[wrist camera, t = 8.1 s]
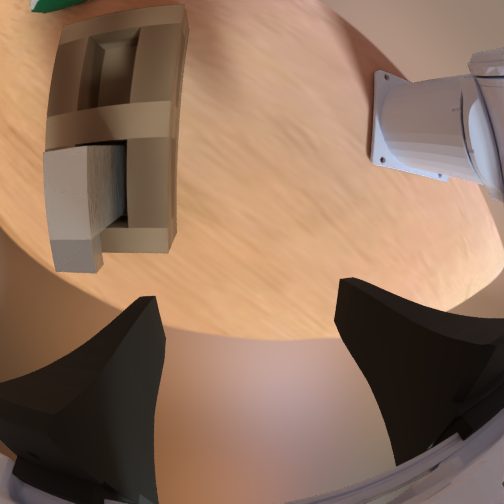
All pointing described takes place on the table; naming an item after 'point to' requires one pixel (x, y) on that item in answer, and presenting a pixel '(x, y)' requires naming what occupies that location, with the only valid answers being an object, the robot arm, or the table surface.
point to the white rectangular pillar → (83, 202)
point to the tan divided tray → (126, 111)
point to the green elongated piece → (51, 5)
